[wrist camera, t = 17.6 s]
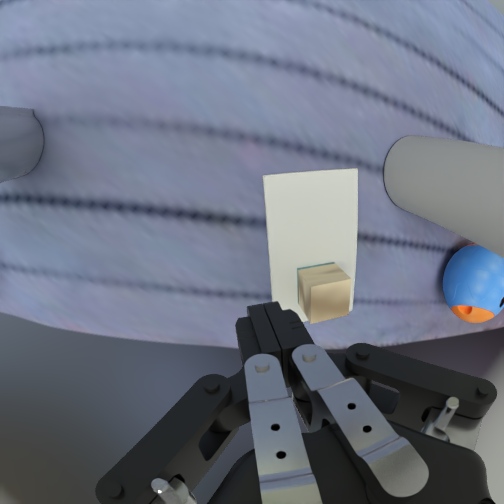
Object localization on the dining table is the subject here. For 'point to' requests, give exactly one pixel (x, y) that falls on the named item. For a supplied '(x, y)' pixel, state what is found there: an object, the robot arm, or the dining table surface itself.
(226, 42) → the dining table surface
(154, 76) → the dining table surface
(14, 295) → the dining table surface
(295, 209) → the cream mat
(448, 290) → the treat dispenser ball
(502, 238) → the cylinder vase
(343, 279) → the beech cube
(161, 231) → the dining table surface
